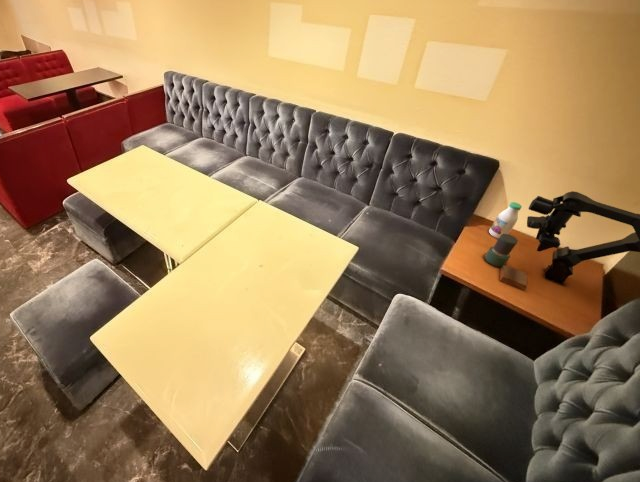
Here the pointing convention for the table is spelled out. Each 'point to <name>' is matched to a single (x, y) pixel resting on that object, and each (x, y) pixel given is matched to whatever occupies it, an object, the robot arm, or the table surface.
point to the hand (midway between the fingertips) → (537, 245)
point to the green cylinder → (496, 258)
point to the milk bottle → (505, 220)
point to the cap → (505, 244)
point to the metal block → (513, 277)
